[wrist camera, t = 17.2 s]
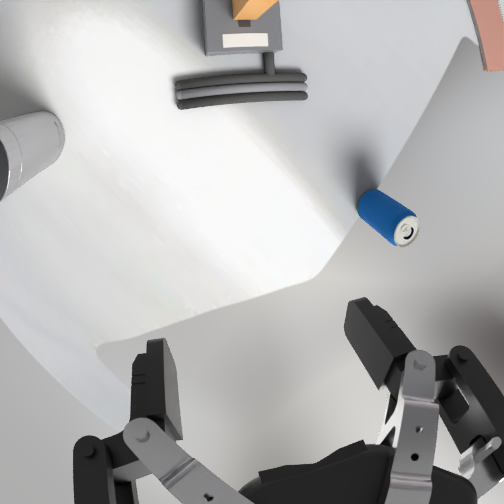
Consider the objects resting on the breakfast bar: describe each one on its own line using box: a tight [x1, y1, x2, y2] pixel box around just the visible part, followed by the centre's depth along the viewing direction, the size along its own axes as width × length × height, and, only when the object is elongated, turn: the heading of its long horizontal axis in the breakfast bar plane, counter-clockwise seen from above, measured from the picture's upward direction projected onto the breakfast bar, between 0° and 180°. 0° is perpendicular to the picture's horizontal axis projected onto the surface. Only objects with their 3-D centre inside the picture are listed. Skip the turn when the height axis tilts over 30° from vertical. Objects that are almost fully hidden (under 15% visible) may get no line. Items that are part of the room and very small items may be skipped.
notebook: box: [467, 0, 504, 72], centre depth 35 cm, size 27×17×2 cm, turn 21°
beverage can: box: [358, 189, 420, 247], centre depth 49 cm, size 6×6×12 cm
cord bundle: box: [175, 52, 308, 110], centre depth 37 cm, size 19×10×1 cm, turn 94°
